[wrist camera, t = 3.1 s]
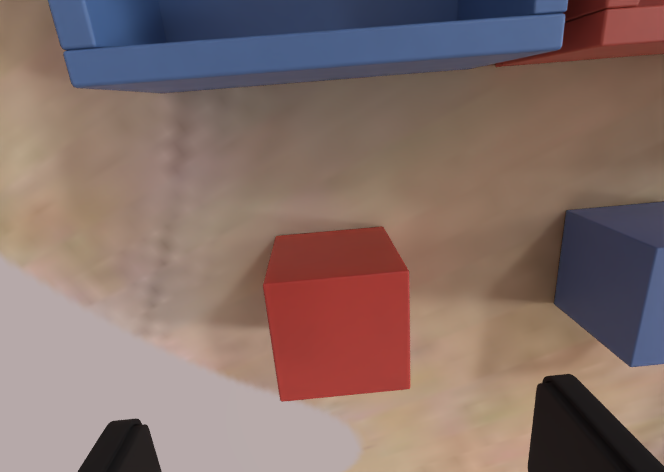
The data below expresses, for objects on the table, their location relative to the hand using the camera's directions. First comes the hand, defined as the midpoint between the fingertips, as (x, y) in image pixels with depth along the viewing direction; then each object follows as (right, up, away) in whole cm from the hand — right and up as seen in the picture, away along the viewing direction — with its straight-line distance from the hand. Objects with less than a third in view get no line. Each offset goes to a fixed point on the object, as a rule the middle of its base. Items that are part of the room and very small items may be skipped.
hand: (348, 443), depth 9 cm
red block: (0, +3, +8) cm, 8 cm away
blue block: (+12, +4, +8) cm, 15 cm away
